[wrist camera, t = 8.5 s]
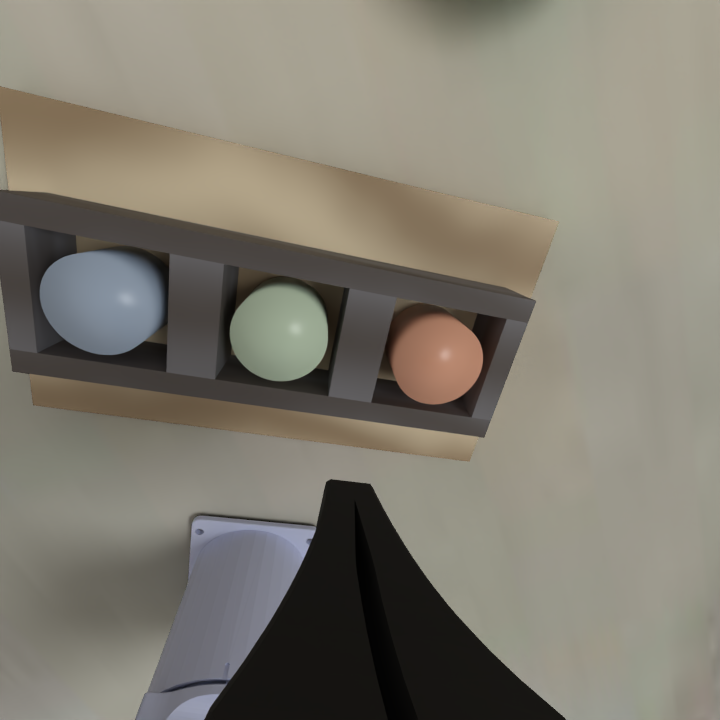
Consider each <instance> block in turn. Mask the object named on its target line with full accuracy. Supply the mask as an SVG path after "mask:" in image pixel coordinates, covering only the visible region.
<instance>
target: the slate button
mask: <svg viewBox="0 0 720 720" xmlns="http://www.w3.org/2000/svg"><path fill="white" fill-rule="evenodd" d="M168 298H169V268H168V267H167V266H166V265H165V264H164V263H163V262H162V261H161V260H160V259H159V258H157V257H156V256H154V255H153V254H151V253H149V252H147V251H145V250H143V249H140V248H136V247H132V246H116V247H111V248H105V249H99V250H94V251H88V252H83V253H77V254H72V255H68V256H65V257H63V258H61V259H59V260H57V261H56V262H54V263H53V264H52V265H51V266H50V267H49V268H48V269H47V271H46V272H45V274H44V276H43V278H42V281H41V285H40V301H41V306H42V309H43V312H44V314H45V316H46V318H47V320H48V321H49V323H50V324H51V326H52V327H53V328H54V330H55V331H56V332H57V333H58V334H59V335H60V336H62V337H63V338H64V339H65V340H66V341H68V342H69V343H71V344H72V345H74V346H76V347H78V348H80V349H82V350H84V351H87V352H91V353H95V354H100V355H116V354H121V353H125V352H127V351H130V350H132V349H133V348H135V347H136V346H138V345H139V344H141V343H142V342H143V341H145V340H146V339H147V338H149V337H150V336H152V335H153V334H154V333H156V332H157V331H159V330H160V329H161V328H163V327H164V326H165V325H167V324H168Z"/></svg>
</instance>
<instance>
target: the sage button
mask: <svg viewBox="0 0 720 720" xmlns="http://www.w3.org/2000/svg"><path fill="white" fill-rule="evenodd" d="M230 341H231V345H232V348H233V351H234V353H235V355H236V356H237V358H238V359H239V361H240V362H241V363H242V364H243V365H244V366H245V367H246V368H247V369H248V370H249V371H251V372H252V373H254V374H255V375H257V376H259V377H262V378H265V379H268V380H272V381H290V380H295V379H298V378H301V377H303V376H305V375H307V374H308V373H310V372H311V371H312V370H313V369H315V368H316V367H317V365H318V364H319V363H320V362H321V360H322V358H323V357H324V354H325V352H326V348H327V343H328V315H327V309H326V306H325V303H324V301H323V299H322V297H321V296H320V294H319V293H318V292H317V291H316V290H315V289H314V288H313V287H312V286H310V285H309V284H308V283H306V282H304V281H302V280H299V279H296V278H292V277H276V278H272V279H269V280H267V281H265V282H263V283H261V284H260V285H259V286H257V287H256V288H255V289H254V290H253V292H252V293H251V294H250V295H249V296H248V297H247V298H246V299H245V301H244V302H243V303H242V304H241V305H240V306H239V307H238V309H237V310H236V312H235V314H234V316H233V318H232V321H231V326H230Z"/></svg>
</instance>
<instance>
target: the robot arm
mask: <svg viewBox="0 0 720 720" xmlns="http://www.w3.org/2000/svg"><path fill="white" fill-rule="evenodd" d="M199 529H202V530H199ZM308 539H312V540H308ZM135 720H566V719H565V718H564V717H563V716H562V715H561V714H560V713H558V712H557V711H556V710H555V709H554V708H553V707H551V706H550V705H549V704H548V703H547V702H546V701H544V700H543V699H542V698H541V697H540V696H539V695H538V694H536V693H535V692H534V691H533V690H532V689H531V688H529V687H528V686H527V685H526V684H525V683H524V682H522V681H521V680H520V679H519V678H518V677H517V676H516V675H515V674H514V673H513V672H512V671H511V670H510V669H509V668H507V667H506V666H505V665H504V664H503V663H502V662H501V661H500V660H499V659H498V658H497V657H496V656H495V655H494V654H493V653H492V652H491V651H490V650H489V649H488V648H487V647H486V646H485V645H484V644H483V643H482V642H481V641H480V640H479V639H478V638H477V637H476V635H475V634H474V633H473V632H472V631H471V630H470V629H469V628H468V627H467V626H466V625H465V624H464V623H463V621H462V620H461V619H460V618H459V617H458V616H457V615H456V614H455V613H454V611H453V610H452V609H451V608H450V607H449V606H448V604H447V603H446V602H445V601H444V599H443V598H442V597H441V596H440V594H439V593H438V592H437V591H436V589H435V588H434V587H433V585H432V584H431V583H430V581H429V580H428V579H427V577H426V576H425V575H424V573H423V572H422V570H421V569H420V567H419V566H418V565H417V563H416V562H415V560H414V559H413V557H412V556H411V554H410V553H409V551H408V549H407V548H406V546H405V545H404V543H403V542H402V540H401V538H400V537H399V535H398V533H397V532H396V530H395V528H394V527H393V525H392V523H391V521H390V520H389V518H388V516H387V514H386V512H385V511H384V509H383V507H382V505H381V503H380V501H379V499H378V497H377V495H376V493H375V491H374V489H373V487H372V486H371V485H370V484H367V483H358V482H349V481H341V480H332V479H330V480H329V481H327V482H326V485H325V489H324V494H323V499H322V503H321V508H320V512H319V517H318V521H317V526H316V527H314V526H306V525H296V524H285V523H275V522H264V521H254V520H243V519H233V518H222V517H212V516H197V517H195V518H194V520H193V522H192V528H191V544H190V559H189V575H188V584H187V587H186V589H185V592H184V595H183V597H182V600H181V603H180V605H179V608H178V611H177V613H176V616H175V619H174V622H173V624H172V627H171V630H170V632H169V635H168V638H167V640H166V643H165V646H164V649H163V651H162V654H161V657H160V659H159V662H158V665H157V667H156V670H155V673H154V675H153V678H152V681H151V684H150V686H149V689H148V692H147V693H145V694H144V697H143V699H142V702H141V705H140V707H139V710H138V713H137V715H136V718H135Z"/></svg>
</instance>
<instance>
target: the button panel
mask: <svg viewBox="0 0 720 720" xmlns="http://www.w3.org/2000/svg"><path fill="white" fill-rule="evenodd" d="M0 117H1V126H2V135H3V144H4V152H5V161H6V170H7V179H8V188H9V190H0V280H1V287H2V295H3V303H4V310H5V318H6V326H7V333H8V341H9V349H10V356H11V364H12V371H13V372H20V373H27V374H30V382H31V391H32V400H33V405H36V406H44V407H51V408H59V409H67V410H75V411H82V412H90V413H98V414H106V415H113V416H121V417H129V418H137V419H144V420H152V421H160V422H167V423H175V424H183V425H191V426H198V427H206V428H214V429H222V430H229V431H237V432H245V433H253V434H260V435H268V436H276V437H284V438H291V439H299V440H307V441H314V442H322V443H330V444H338V445H345V446H353V447H361V448H369V449H376V450H384V451H392V452H400V453H407V454H415V455H423V456H431V457H438V458H446V459H454V460H461V461H470V459H471V456H472V453H473V451H474V448H475V445H476V443H477V440H478V437H483V438H484V437H485V434H486V431H487V429H488V426H489V423H490V421H491V418H492V416H493V413H494V410H495V408H496V405H497V402H498V400H499V397H500V395H501V392H502V389H503V387H504V384H505V381H506V379H507V376H508V374H509V371H510V368H511V366H512V363H513V360H514V358H515V355H516V353H517V350H518V347H519V345H520V342H521V339H522V337H523V334H524V332H525V329H526V326H527V324H528V321H529V318H530V316H531V313H532V311H533V308H534V305H535V303H536V301H535V300H533V299H530V298H531V296H532V293H533V290H534V288H535V285H536V282H537V280H538V277H539V274H540V272H541V269H542V266H543V264H544V261H545V258H546V256H547V253H548V250H549V248H550V245H551V242H552V240H553V237H554V234H555V232H556V229H557V226H558V224H559V222H558V221H554V220H550V219H546V218H542V217H538V216H534V215H529V214H525V213H521V212H517V211H513V210H509V209H505V208H501V207H496V206H492V205H488V204H484V203H480V202H476V201H472V200H467V199H463V198H459V197H455V196H451V195H447V194H443V193H439V192H434V191H430V190H426V189H422V188H418V187H414V186H410V185H405V184H401V183H397V182H393V181H389V180H385V179H381V178H377V177H372V176H368V175H364V174H360V173H356V172H352V171H348V170H343V169H339V168H335V167H331V166H327V165H323V164H319V163H315V162H310V161H306V160H302V159H298V158H294V157H290V156H286V155H281V154H277V153H273V152H269V151H265V150H261V149H257V148H253V147H248V146H244V145H240V144H236V143H232V142H228V141H224V140H219V139H215V138H211V137H207V136H203V135H199V134H195V133H191V132H186V131H182V130H178V129H174V128H170V127H166V126H162V125H158V124H153V123H149V122H145V121H141V120H137V119H133V118H129V117H124V116H120V115H116V114H112V113H108V112H104V111H100V110H96V109H91V108H87V107H83V106H79V105H75V104H71V103H67V102H62V101H58V100H54V99H50V98H46V97H42V96H38V95H34V94H29V93H25V92H21V91H17V90H13V89H9V88H5V87H0ZM116 246H132V247H136V248H140V249H143V250H145V251H147V252H149V253H151V254H153V255H154V256H156V257H157V258H159V259H160V260H161V261H162V262H163V263H164V264H165V265H166V266H167V267H168V268H169V298H168V324H167V325H165V326H164V327H163V328H161V329H160V330H159V331H157V332H156V333H154V334H153V335H152V336H150V337H149V338H147V339H146V340H145V341H143V342H142V343H141V344H139V345H138V346H136V347H135V348H133V349H132V350H130V351H127V352H125V353H121V354H116V355H100V354H95V353H91V352H87V351H84V350H82V349H80V348H78V347H76V346H74V345H72V344H71V343H69V342H68V341H66V340H65V339H64V338H63V337H62V336H60V335H59V334H58V333H57V332H56V331H55V330H54V328H53V327H52V326H51V324H50V323H49V321H48V320H47V318H46V316H45V314H44V312H43V309H42V306H41V301H40V285H41V281H42V278H43V276H44V274H45V272H46V271H47V269H48V268H49V267H50V266H51V265H52V264H53V263H54V262H56V261H57V260H59V259H61V258H63V257H65V256H68V255H72V254H77V253H83V252H88V251H94V250H99V249H105V248H111V247H116ZM276 277H292V278H296V279H299V280H302V281H304V282H306V283H308V284H309V285H310V286H312V287H313V288H314V289H315V290H316V291H317V292H318V293H319V294H320V296H321V297H322V299H323V301H324V303H325V306H326V309H327V315H328V343H327V348H326V352H325V354H324V357H323V358H322V360H321V362H320V363H319V364H318V365H317V367H316V368H315V369H313V370H312V371H311V372H310V373H308V374H307V375H305V376H303V377H301V378H298V379H295V380H290V381H272V380H268V379H265V378H262V377H259V376H257V375H255V374H254V373H252V372H251V371H249V370H248V369H247V368H246V367H245V366H244V365H243V364H242V363H241V362H240V361H239V359H238V358H237V356H236V355H235V353H234V351H233V348H232V345H231V341H230V326H231V321H232V318H233V316H234V314H235V312H236V310H237V309H238V307H239V306H240V305H241V304H242V303H243V302H244V301H245V299H246V298H247V297H248V296H249V295H250V294H251V293H252V292H253V290H254V289H255V288H256V287H257V286H259V285H260V284H261V283H263V282H265V281H267V280H269V279H272V278H276ZM421 304H431V305H436V306H439V307H441V308H444V309H445V310H447V311H448V312H449V313H451V314H452V315H453V316H454V317H455V318H456V319H458V320H459V321H460V322H461V323H462V324H464V325H465V326H466V327H467V328H468V329H469V330H471V331H472V332H473V333H474V334H475V336H476V337H477V339H478V340H479V342H480V344H481V348H482V352H483V364H482V369H481V372H480V374H479V377H478V378H477V380H476V382H475V383H474V384H473V386H472V387H471V388H470V389H469V390H468V391H467V392H466V393H465V394H463V395H462V396H460V397H459V398H457V399H455V400H453V401H450V402H447V403H443V404H425V403H421V402H418V401H415V400H413V399H412V398H410V397H409V396H407V395H406V394H405V393H404V392H403V391H402V389H401V388H400V387H399V385H398V383H397V380H396V378H395V376H394V373H393V371H392V368H391V366H390V363H389V361H388V358H387V356H386V353H385V344H386V340H387V336H388V332H389V328H390V324H391V322H392V321H393V320H394V319H395V317H397V316H398V315H399V314H400V313H401V312H403V311H404V310H406V309H408V308H410V307H413V306H416V305H421Z"/></svg>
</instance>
